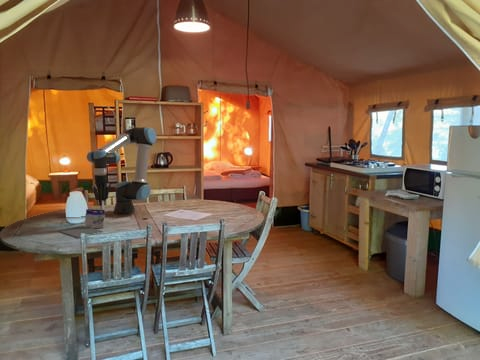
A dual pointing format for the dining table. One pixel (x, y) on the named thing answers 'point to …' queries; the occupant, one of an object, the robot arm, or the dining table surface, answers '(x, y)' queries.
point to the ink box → (94, 218)
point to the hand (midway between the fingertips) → (102, 210)
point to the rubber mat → (79, 231)
